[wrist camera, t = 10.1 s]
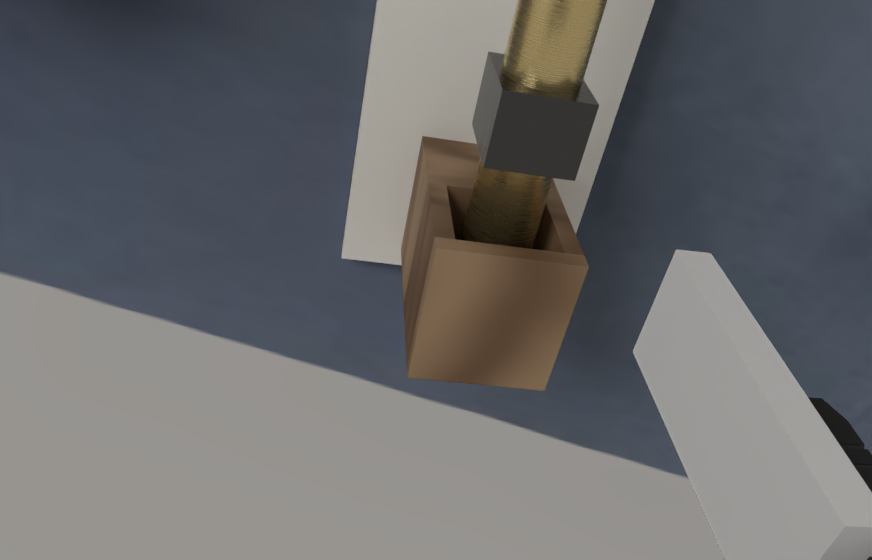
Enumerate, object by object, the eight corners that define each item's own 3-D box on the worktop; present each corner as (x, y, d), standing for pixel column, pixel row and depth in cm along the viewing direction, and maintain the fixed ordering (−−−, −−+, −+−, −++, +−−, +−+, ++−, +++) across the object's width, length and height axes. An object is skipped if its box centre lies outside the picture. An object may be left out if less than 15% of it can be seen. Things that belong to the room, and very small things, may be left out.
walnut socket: (400, 249, 40) (407, 377, 32) (422, 135, 37) (436, 248, 29) (510, 262, 41) (544, 390, 33) (542, 153, 38) (589, 267, 29)
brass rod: (435, 283, 36) (441, 337, 32) (608, -479, 21) (651, -520, 18) (508, 291, 36) (521, 346, 33) (725, -446, 22) (787, -479, 18)
